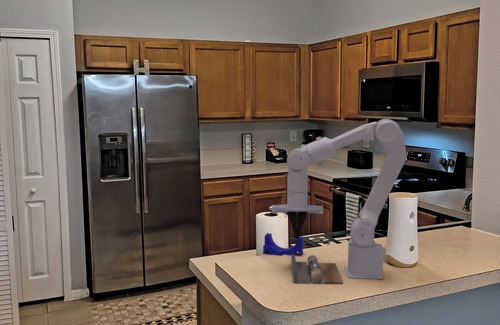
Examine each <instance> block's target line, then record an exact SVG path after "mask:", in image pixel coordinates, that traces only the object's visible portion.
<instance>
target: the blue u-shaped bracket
mask: <svg viewBox="0 0 500 325" xmlns="http://www.w3.org/2000/svg"><path fill="white" fill-rule="evenodd" d="M267 254H268V256H269V255H270V256H278V257H282V256H283V255H285V256H291V254H293V255H295V257H296V256H297V255H298V254H299V255H298V257H302V256H303V254H304V236H303V235H300V236H299V238H296V241H295V243H294V245H293V246H290V247H287V248H286V247H281V246H279V245H278V244H276V242H275V241H274V239H273V236H272V233H269V232H268V233H267V232H266V233H265V234H264V242H263V247H262V255H267Z"/></svg>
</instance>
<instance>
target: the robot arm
mask: <svg viewBox="0 0 500 325" xmlns="http://www.w3.org/2000/svg"><path fill="white" fill-rule="evenodd" d="M375 137H376V139H377V140H378V141H379V143H380V144H381V145H382V146H383V149H384V152H385V155H386V158H385V160H384V162H383V165H382V167H381V169H380V171H379V173H378V175H377V177H376V180H375V182H374V184H373V186H372V188H371V191H370V192H369V195H368V196H367V199H366V200H365V201H366V202H364V205H363V207H362V209H361V210H360V211H359V213H358V215H357V216H356V217H355V218H354V219H352V220H351V222H350V234H349V235H350V239H349V240H348V247H347V248H348V249H347V266H344V271H345V273H346V275H347V278H348V279H365V280H366V279H368V280H369V279H371V280H383V279H384V276H383V274H384V249H383V248H384V247H383V245H382V244H381V243H376V241H375V240H374V239H375V228H376V226H377V224H378V220H379V216H380V215H381V212H382V210H383V208H384V207H385V204H386V203H387V200H388V198H389V195H390V193H391V191H392V189H393V187H394V185H395V184H396V181H397V179H398V176H399V175H400V172H401V170H402V168H403V167H404V164H405V162H406V160H407V149H406V143H405V135H404V132H403V131H402V128H400V125H399V124H398V123H397V122H396V121H395V120H392V119H389V118H382V119H380V120H378V121H373V122H369V123H365V124H362V125H359V126H358V127H356V128H353V129H351V130H349V131H347V132H344V133H343V134H341V135H338V136H336V137H333V138H332V139H331V138H328V137H326V136H324V137H321V136H318V137H316V138H315V140H314V141H312V142H310V143H307V144H304V143H303V144H301V145H300V147H299V148H295V149H293V150H292V151H290V152H289V153H288V155H287V158H286V163H287V165H288V169H287V172H288V173H287V192H286V193H287V201H286V203H287V204H272V205H271V214H276V213H279V214H280V213H283V214H287V216H288V219H289V221H290V224H291V227H292V230H293V238H294V239H297V238H299V236H301V232H302V228H303V226H304V223H305V221H306V219H308V218H307V217H308V214H319V215H322V214H324V206H323V205H314V204H313V205H312V204H308V195H309V194H308V192H309V191H308V187H309V186H308V185H309V183H308V182H309V175H308V164H309V165H314V164H316V163H319V162H321V161H323V160H327V159H328V158H331V157H333V156H334V154H335V152H336V150H338V149H341V148H344V147H347V146H349V145H351V144H355V143H357V142H359V141H362V140H363V141H364V140H366V141H375Z"/></svg>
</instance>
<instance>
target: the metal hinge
mask: <svg viewBox="0 0 500 325" xmlns="http://www.w3.org/2000/svg"><path fill="white" fill-rule="evenodd" d="M319 263H320V262H319V260H318V261H316V260H312V261H310V263H309V266H308V262H307V261H297V260H296V256H295V255H293V254H291V255H290V266H291V273H292V274H291V275H292V282H293V284H311V281H312V279H311V274H310V271H311V269H312V268H314V267H317V268H319V269H320V265H319ZM320 270H321V269H320Z"/></svg>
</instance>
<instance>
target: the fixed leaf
mask: <svg viewBox="0 0 500 325" xmlns="http://www.w3.org/2000/svg"><path fill="white" fill-rule="evenodd" d="M312 260H316V261H318V263H319V265H320V269H321V270H320V269H319V268H317V267H314V268H312V269H311V271H310V274H311V277H310V280H311V281H312V282H313V284H315V285H343V284H344V281H343V279H342V276H341V273H340V271H339V269H338V266H337V264H336V263H335V262H319V260H318V258H317V256H316V255H313V254H312V255H309V256H308V257H307V260H306V262H307V267H309V263H310V261H312Z"/></svg>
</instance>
